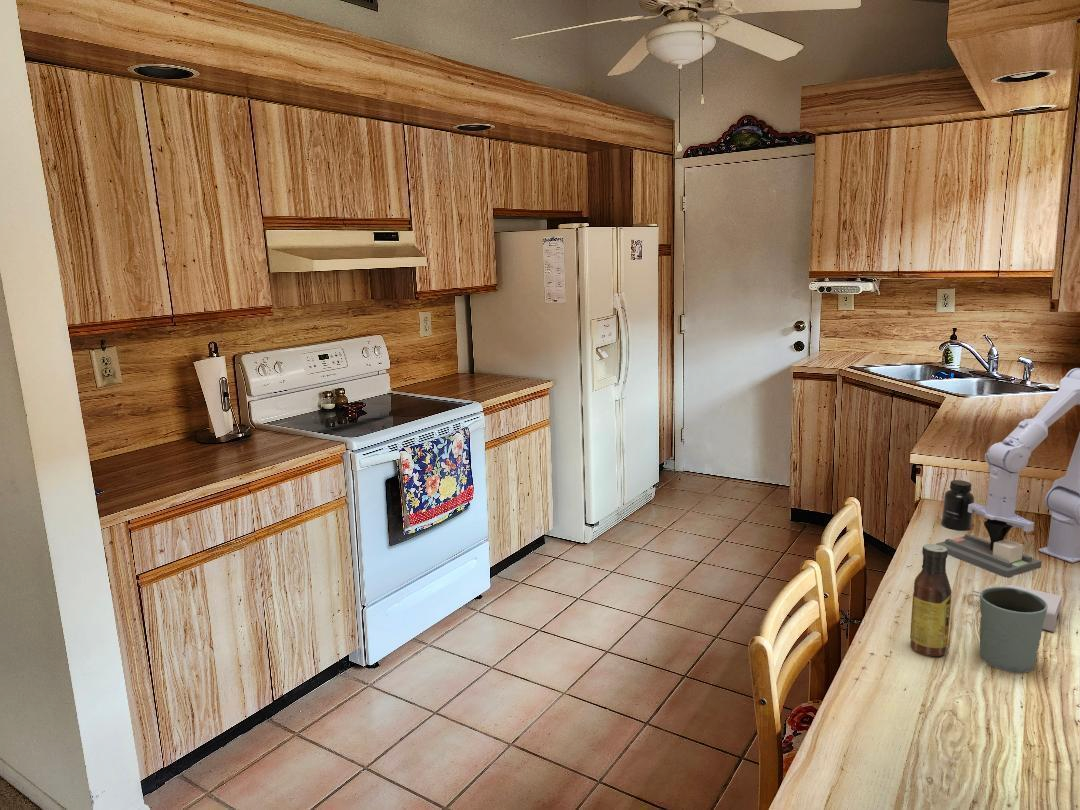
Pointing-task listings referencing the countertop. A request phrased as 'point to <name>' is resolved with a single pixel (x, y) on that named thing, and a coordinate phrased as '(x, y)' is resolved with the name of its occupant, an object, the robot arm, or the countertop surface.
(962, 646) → the countertop surface
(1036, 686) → the countertop surface
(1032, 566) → the switch track
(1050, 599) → the charger
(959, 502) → the supplement bottle
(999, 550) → the slider knob
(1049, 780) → the countertop surface
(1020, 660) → the grey cup
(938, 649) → the sauce bottle
